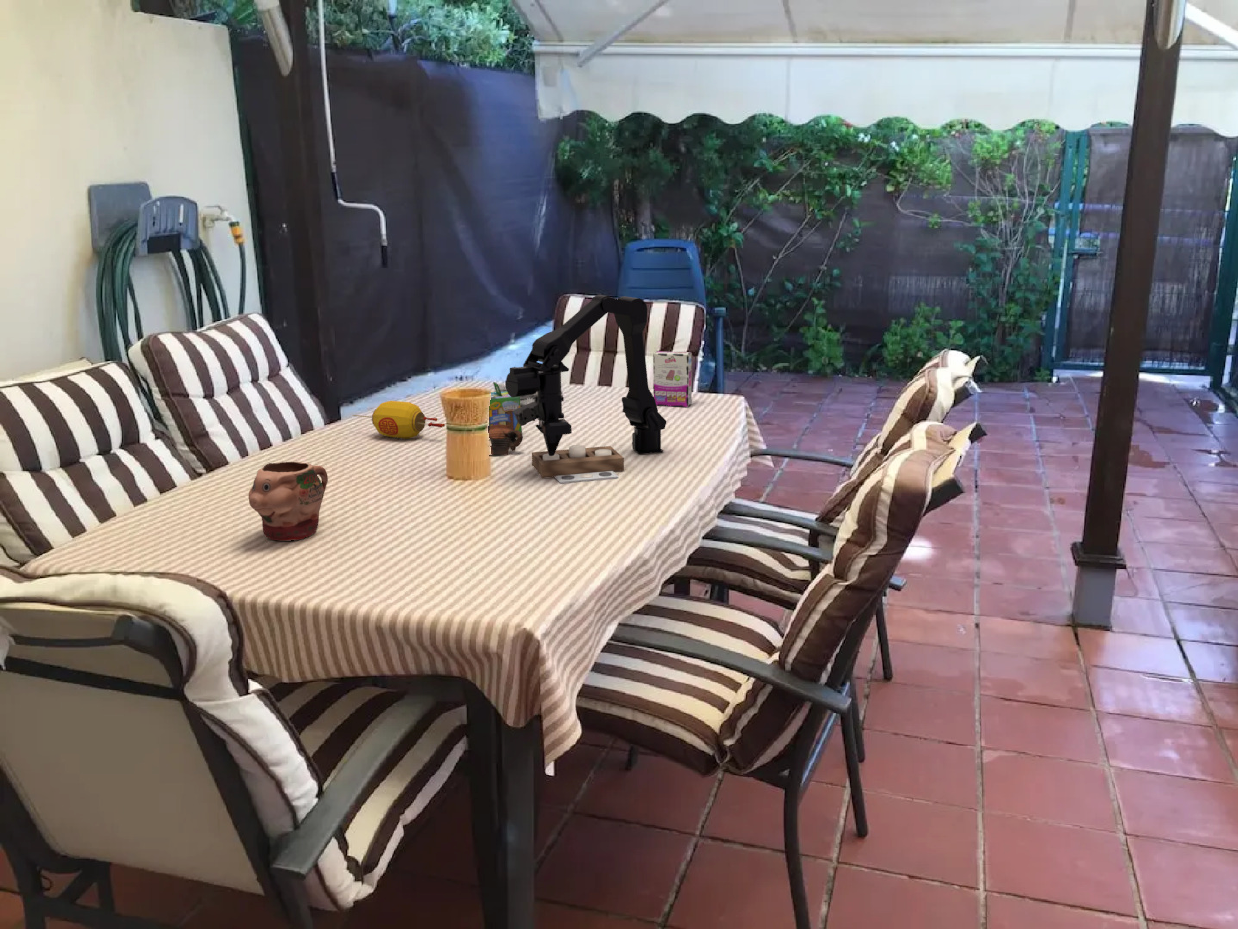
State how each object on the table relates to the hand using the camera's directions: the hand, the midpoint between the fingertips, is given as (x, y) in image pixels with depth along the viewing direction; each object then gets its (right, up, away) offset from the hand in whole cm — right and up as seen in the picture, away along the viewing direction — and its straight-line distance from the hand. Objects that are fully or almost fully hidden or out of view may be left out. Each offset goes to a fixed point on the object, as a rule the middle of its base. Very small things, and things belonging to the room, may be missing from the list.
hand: (551, 455), depth 245 cm
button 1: (0, -3, +1) cm, 3 cm away
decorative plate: (-15, +16, +74) cm, 77 cm away
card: (+9, -5, -6) cm, 12 cm away
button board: (+6, -3, +3) cm, 7 cm away
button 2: (+12, -2, +4) cm, 13 cm away
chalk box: (-16, +6, +35) cm, 39 cm away
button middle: (+6, -1, +2) cm, 7 cm away
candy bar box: (+33, +16, +70) cm, 79 cm away
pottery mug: (-14, +1, +18) cm, 23 cm away
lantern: (-44, +5, +34) cm, 56 cm away
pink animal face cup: (-48, -16, -40) cm, 65 cm away
